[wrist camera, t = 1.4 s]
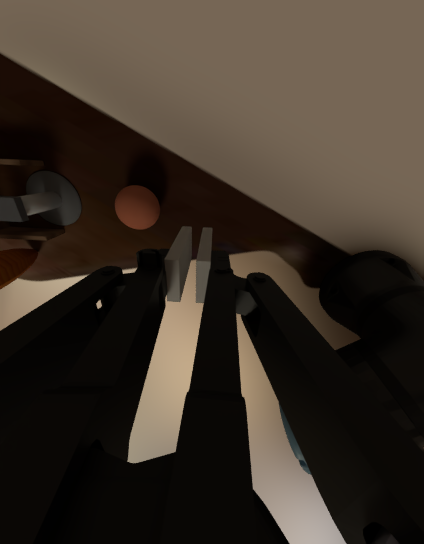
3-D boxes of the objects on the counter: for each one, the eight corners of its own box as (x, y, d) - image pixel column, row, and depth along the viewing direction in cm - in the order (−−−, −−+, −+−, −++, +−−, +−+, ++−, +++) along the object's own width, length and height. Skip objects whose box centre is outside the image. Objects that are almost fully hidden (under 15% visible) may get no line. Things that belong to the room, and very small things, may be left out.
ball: (171, 208, 32) (163, 216, 26) (145, 230, 33) (132, 242, 28) (144, 174, 29) (128, 176, 24) (117, 200, 31) (97, 207, 26)
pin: (61, 190, 31) (13, 197, 23) (66, 209, 32) (22, 222, 25) (42, 189, 30) (-12, 196, 23) (48, 208, 32) (-1, 220, 25)
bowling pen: (43, 160, 29) (3, 159, 23) (64, 232, 34) (36, 245, 28) (-27, 156, 29) (-82, 154, 23) (6, 229, 34) (-34, 241, 28)
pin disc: (91, 204, 31) (91, 205, 31) (62, 234, 34) (61, 234, 34) (45, 158, 29) (44, 158, 28) (17, 194, 31) (15, 194, 31)
